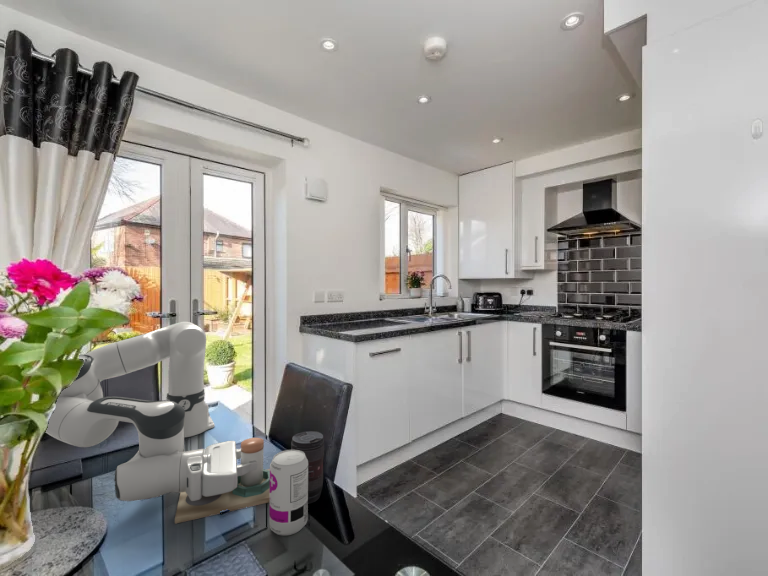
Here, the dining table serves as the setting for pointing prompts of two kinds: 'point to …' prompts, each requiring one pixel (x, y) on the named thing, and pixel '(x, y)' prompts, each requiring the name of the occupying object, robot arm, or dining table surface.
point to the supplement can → (288, 492)
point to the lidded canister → (252, 452)
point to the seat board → (224, 500)
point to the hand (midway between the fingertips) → (255, 458)
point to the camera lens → (311, 460)
